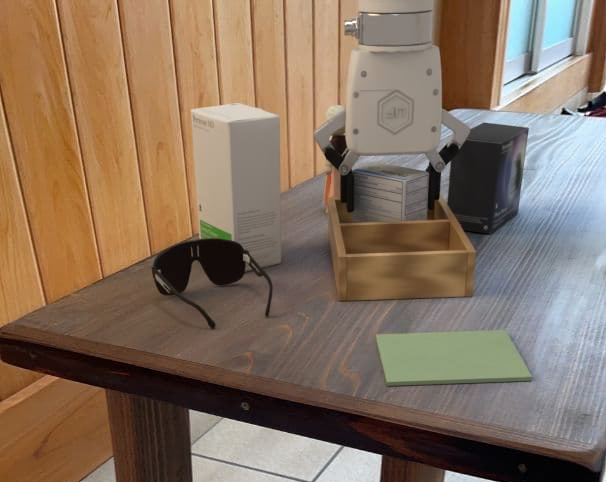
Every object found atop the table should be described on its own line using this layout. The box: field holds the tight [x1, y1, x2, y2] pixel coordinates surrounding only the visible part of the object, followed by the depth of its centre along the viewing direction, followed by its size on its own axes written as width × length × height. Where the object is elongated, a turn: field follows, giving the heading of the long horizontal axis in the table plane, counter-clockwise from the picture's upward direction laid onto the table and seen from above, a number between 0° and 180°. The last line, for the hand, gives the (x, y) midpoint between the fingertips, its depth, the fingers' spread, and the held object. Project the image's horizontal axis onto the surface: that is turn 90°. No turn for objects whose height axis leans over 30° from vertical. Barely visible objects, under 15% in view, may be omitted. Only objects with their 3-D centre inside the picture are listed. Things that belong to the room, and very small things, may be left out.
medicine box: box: [352, 162, 429, 223], centre depth 97 cm, size 8×4×9 cm, turn 45°
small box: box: [446, 121, 530, 235], centre depth 104 cm, size 11×6×10 cm, turn 150°
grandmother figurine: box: [322, 104, 347, 215], centre depth 109 cm, size 8×4×13 cm, turn 164°
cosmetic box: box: [190, 102, 282, 273], centre depth 93 cm, size 8×7×16 cm
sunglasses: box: [151, 238, 273, 329], centre depth 85 cm, size 10×12×5 cm
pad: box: [375, 329, 533, 387], centre depth 74 cm, size 12×10×1 cm
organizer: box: [327, 193, 478, 302], centre depth 94 cm, size 14×22×4 cm, turn 1°
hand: (389, 207), depth 97 cm, fingers closed on medicine box, 8 cm apart
